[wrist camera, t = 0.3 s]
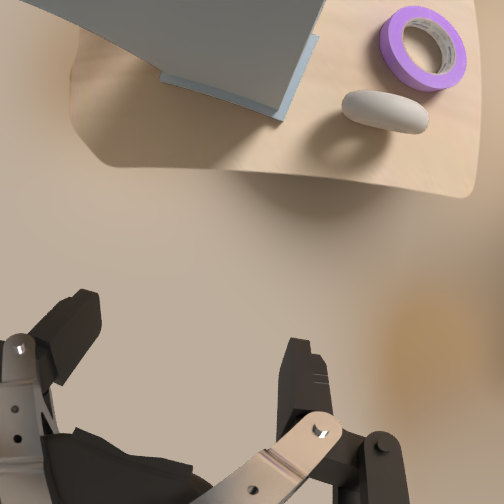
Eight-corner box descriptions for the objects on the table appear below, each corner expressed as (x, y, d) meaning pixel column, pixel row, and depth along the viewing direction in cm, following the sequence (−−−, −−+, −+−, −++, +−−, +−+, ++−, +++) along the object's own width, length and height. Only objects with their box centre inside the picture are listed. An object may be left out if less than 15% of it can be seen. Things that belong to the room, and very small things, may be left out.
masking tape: (378, 81, 33) (389, 76, 29) (377, 5, 29) (386, -5, 25) (453, 101, 32) (468, 99, 29) (450, 28, 28) (463, 22, 25)
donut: (331, 120, 35) (353, 114, 25) (334, 93, 34) (356, 79, 24) (405, 137, 35) (444, 139, 25) (408, 111, 34) (447, 107, 24)
